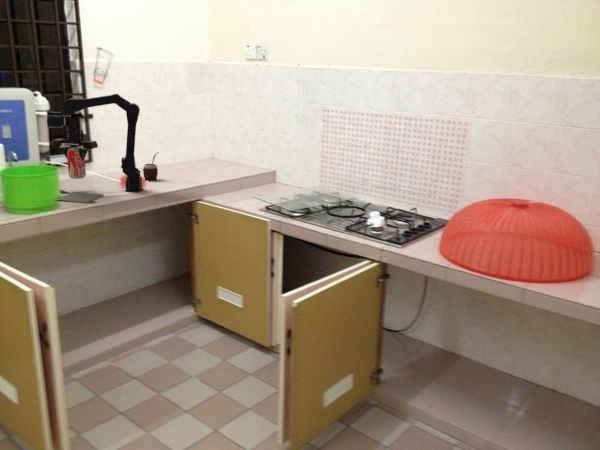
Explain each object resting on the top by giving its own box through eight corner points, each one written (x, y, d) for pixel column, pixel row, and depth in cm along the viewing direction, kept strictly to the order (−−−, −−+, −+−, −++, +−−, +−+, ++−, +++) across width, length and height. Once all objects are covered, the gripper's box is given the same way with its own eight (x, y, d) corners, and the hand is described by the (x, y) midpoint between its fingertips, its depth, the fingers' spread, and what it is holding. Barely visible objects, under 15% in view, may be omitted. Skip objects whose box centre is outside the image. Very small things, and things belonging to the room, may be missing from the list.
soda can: (88, 176, 249) (86, 147, 246) (81, 179, 242) (79, 150, 239) (73, 175, 250) (71, 146, 246) (65, 178, 243) (63, 149, 239)
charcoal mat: (103, 195, 242) (103, 194, 242) (86, 203, 229) (86, 201, 229) (74, 193, 244) (73, 191, 244) (55, 200, 231) (55, 199, 230)
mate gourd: (143, 178, 280) (142, 149, 276) (159, 178, 282) (159, 149, 278) (143, 181, 273) (142, 151, 269) (159, 181, 275) (158, 152, 271)
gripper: (102, 127, 246) (104, 161, 251) (64, 124, 249) (67, 158, 253) (89, 130, 236) (92, 165, 240) (50, 127, 238) (53, 162, 243)
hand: (76, 163), depth 244 cm, fingers closed on soda can, 5 cm apart
